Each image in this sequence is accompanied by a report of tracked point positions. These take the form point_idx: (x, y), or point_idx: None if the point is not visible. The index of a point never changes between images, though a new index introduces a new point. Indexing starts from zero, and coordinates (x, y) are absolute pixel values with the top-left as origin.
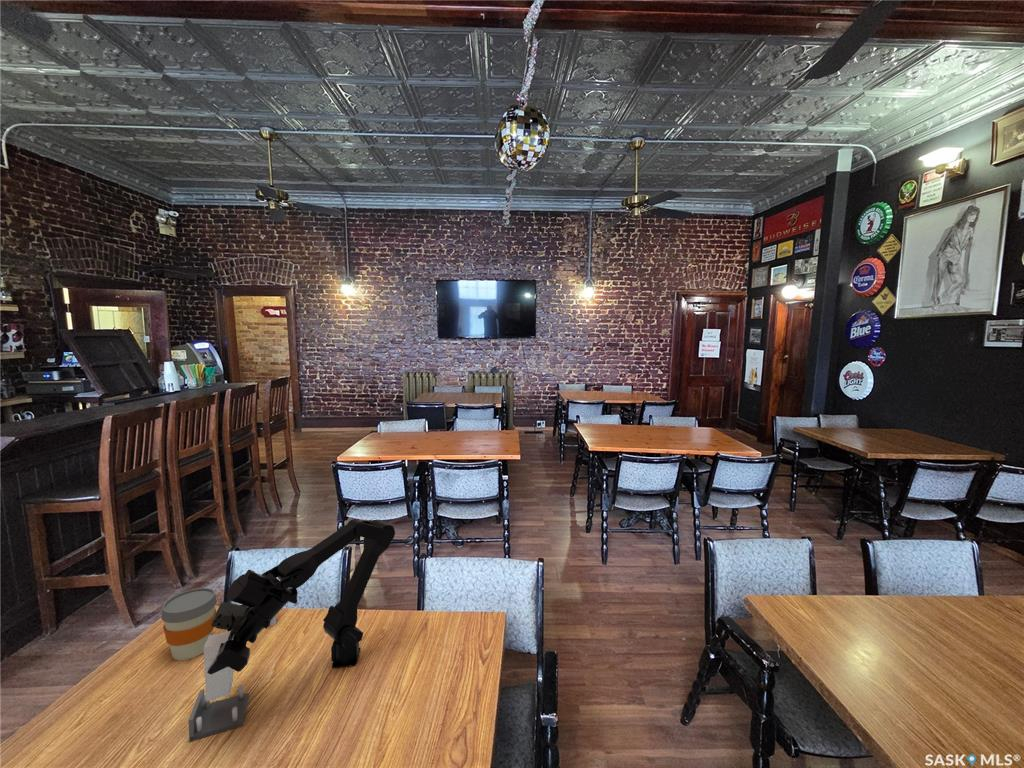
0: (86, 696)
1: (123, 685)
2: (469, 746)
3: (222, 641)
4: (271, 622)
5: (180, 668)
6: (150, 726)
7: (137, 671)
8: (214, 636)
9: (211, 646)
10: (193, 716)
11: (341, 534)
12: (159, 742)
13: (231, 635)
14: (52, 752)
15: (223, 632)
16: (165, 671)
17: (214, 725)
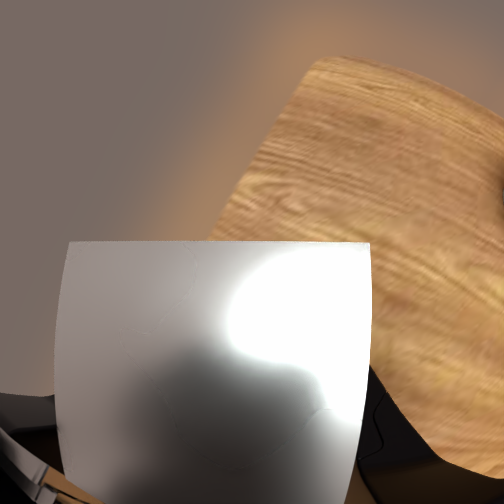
0: (426, 85)
1: (447, 120)
2: None
3: (90, 458)
4: None
5: (485, 201)
6: (323, 186)
7: (476, 133)
8: (280, 362)
9: (59, 332)
10: None
11: None
12: (261, 219)
13: (353, 501)
14: (315, 79)
15: (340, 489)
16: (478, 175)
17: None
